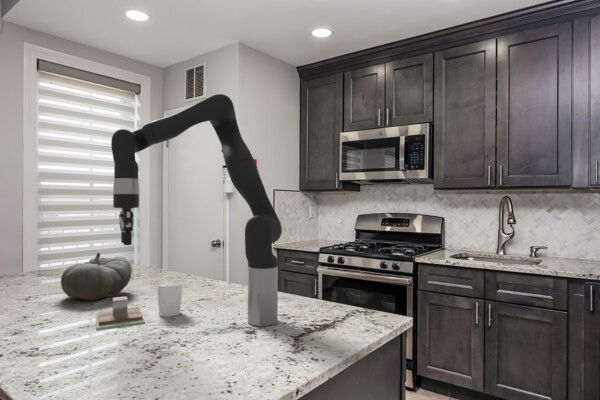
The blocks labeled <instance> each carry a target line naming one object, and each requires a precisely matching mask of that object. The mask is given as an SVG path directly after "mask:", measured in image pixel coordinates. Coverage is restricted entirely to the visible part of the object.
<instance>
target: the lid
mask: <svg viewBox="0 0 600 400" xmlns="http://www.w3.org/2000/svg"><path fill="white" fill-rule="evenodd" d="M128 302H129V301H128V297H127V295H126V296H117V297H116V296H115V297H112V310H104V311H103V310H102V311H98V312H97V313H98V321H99V326H100V325H108V324H115V323H123V322H131V321H138V320H143V318H144V316H143V314H142V312H140V311H141V310H139V309H140V307H138V306H136V307H128V304H129V303H128Z"/></svg>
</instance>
